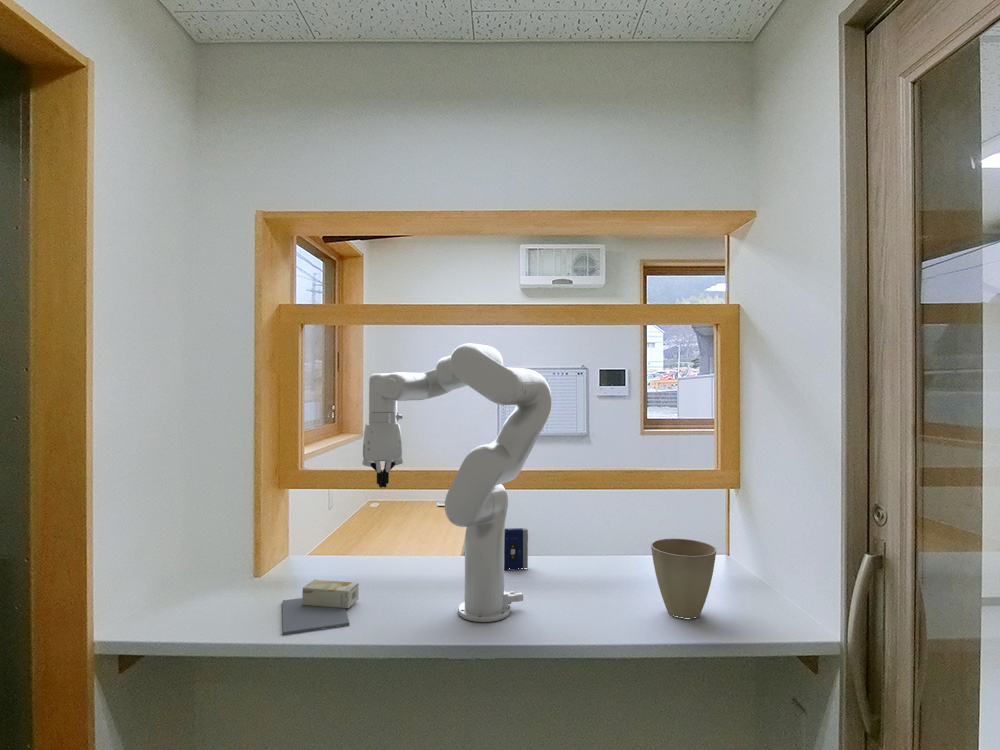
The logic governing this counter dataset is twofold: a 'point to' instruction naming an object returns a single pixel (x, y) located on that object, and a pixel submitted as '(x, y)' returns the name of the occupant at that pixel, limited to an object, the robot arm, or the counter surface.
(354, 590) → the skincare box
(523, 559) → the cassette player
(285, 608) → the mat
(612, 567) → the counter surface
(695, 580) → the plant pot
